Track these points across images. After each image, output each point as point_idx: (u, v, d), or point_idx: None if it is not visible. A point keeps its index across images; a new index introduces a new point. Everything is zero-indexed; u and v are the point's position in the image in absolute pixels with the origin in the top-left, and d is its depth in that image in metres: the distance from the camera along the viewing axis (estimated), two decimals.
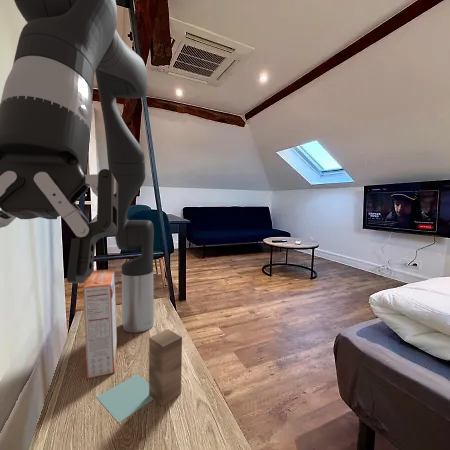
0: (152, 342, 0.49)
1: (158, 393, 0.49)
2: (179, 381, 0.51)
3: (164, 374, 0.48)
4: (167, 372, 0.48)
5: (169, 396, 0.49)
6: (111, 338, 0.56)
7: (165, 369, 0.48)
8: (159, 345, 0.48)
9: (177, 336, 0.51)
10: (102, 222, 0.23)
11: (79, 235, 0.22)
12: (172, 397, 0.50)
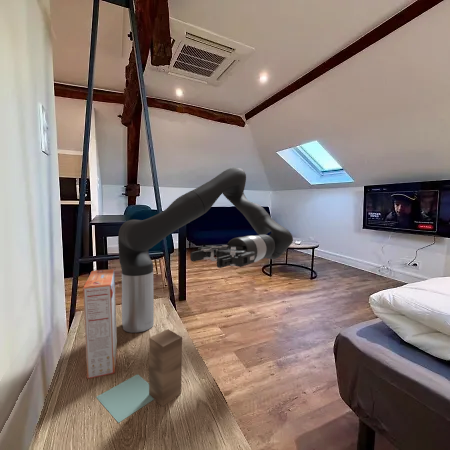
0: (152, 342, 0.49)
1: (158, 393, 0.49)
2: (179, 381, 0.51)
3: (164, 374, 0.48)
4: (167, 372, 0.48)
5: (169, 396, 0.49)
6: (111, 338, 0.56)
7: (165, 369, 0.48)
8: (159, 345, 0.48)
9: (177, 336, 0.51)
10: (240, 254, 0.57)
11: (230, 255, 0.57)
12: (172, 397, 0.50)
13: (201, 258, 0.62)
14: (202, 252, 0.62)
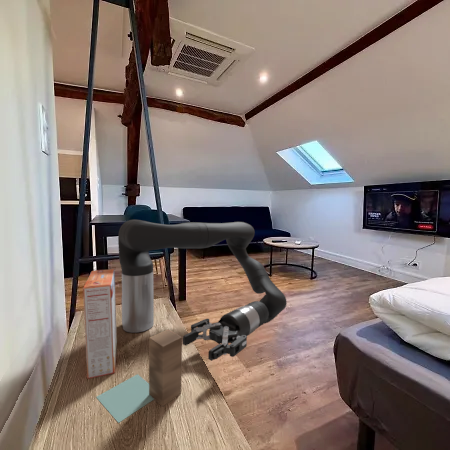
0: (152, 342, 0.49)
1: (158, 393, 0.49)
2: (179, 381, 0.51)
3: (164, 374, 0.48)
4: (167, 372, 0.48)
5: (169, 396, 0.49)
6: (111, 338, 0.56)
7: (165, 369, 0.48)
8: (159, 345, 0.48)
9: (177, 336, 0.51)
10: (232, 344, 0.57)
11: (222, 343, 0.57)
12: (172, 397, 0.50)
13: (194, 339, 0.62)
14: (195, 333, 0.62)
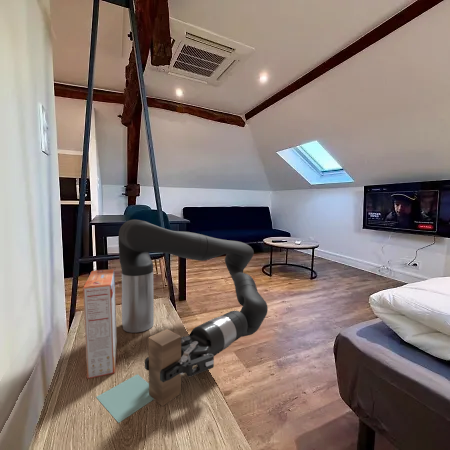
0: (151, 342, 0.49)
1: (158, 393, 0.49)
2: (179, 381, 0.51)
3: None
4: None
5: (169, 396, 0.49)
6: (111, 338, 0.56)
7: None
8: (158, 344, 0.48)
9: (176, 335, 0.51)
10: (189, 362, 0.49)
11: (178, 361, 0.50)
12: (172, 397, 0.50)
13: None
14: None
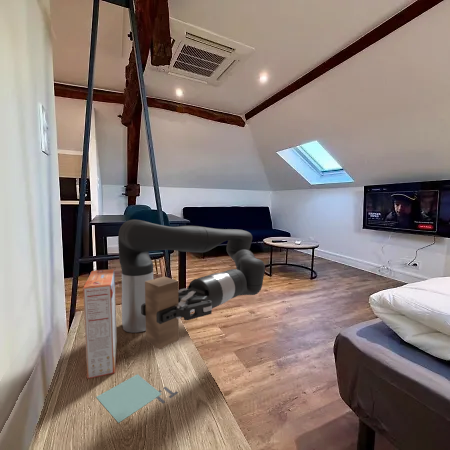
0: (147, 285, 0.48)
1: (155, 337, 0.48)
2: (176, 326, 0.50)
3: None
4: None
5: (166, 340, 0.48)
6: (111, 338, 0.56)
7: None
8: (155, 286, 0.47)
9: (173, 280, 0.50)
10: (186, 306, 0.48)
11: (175, 305, 0.49)
12: (169, 342, 0.49)
13: None
14: None
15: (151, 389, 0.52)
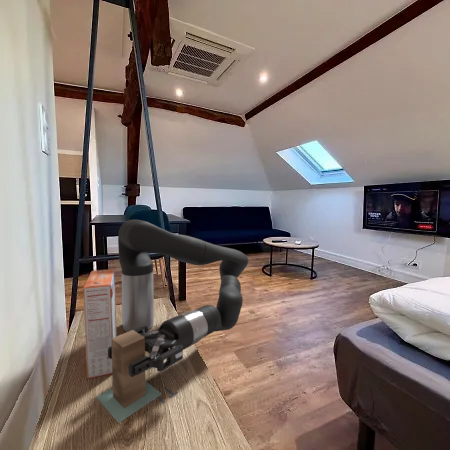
0: (113, 343, 0.49)
1: (120, 395, 0.48)
2: (143, 382, 0.50)
3: (125, 375, 0.47)
4: None
5: (131, 398, 0.49)
6: None
7: (126, 370, 0.47)
8: (119, 346, 0.47)
9: (140, 337, 0.50)
10: (160, 356, 0.48)
11: (149, 355, 0.49)
12: (135, 399, 0.49)
13: None
14: None
15: (151, 389, 0.52)
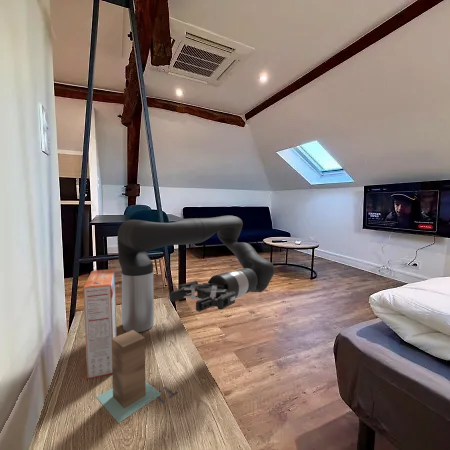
0: (113, 343, 0.49)
1: (120, 395, 0.48)
2: (143, 382, 0.50)
3: (125, 375, 0.47)
4: (129, 373, 0.48)
5: (131, 398, 0.49)
6: (111, 338, 0.56)
7: (126, 370, 0.47)
8: (119, 346, 0.47)
9: (140, 337, 0.50)
10: (220, 297, 0.56)
11: (210, 296, 0.56)
12: (135, 399, 0.49)
13: (181, 297, 0.61)
14: (182, 291, 0.61)
15: (151, 389, 0.52)
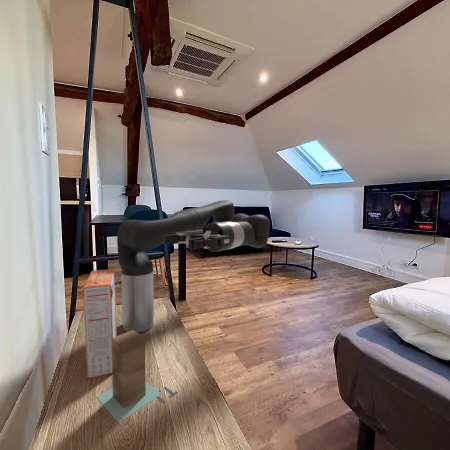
0: (113, 343, 0.49)
1: (120, 395, 0.48)
2: (143, 382, 0.50)
3: (125, 375, 0.47)
4: (129, 373, 0.48)
5: (131, 398, 0.49)
6: (111, 338, 0.56)
7: (126, 370, 0.47)
8: (119, 346, 0.47)
9: (140, 337, 0.50)
10: (213, 237, 0.56)
11: (203, 237, 0.56)
12: (135, 399, 0.49)
13: (175, 242, 0.61)
14: (176, 236, 0.61)
15: (151, 389, 0.52)
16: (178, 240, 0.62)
